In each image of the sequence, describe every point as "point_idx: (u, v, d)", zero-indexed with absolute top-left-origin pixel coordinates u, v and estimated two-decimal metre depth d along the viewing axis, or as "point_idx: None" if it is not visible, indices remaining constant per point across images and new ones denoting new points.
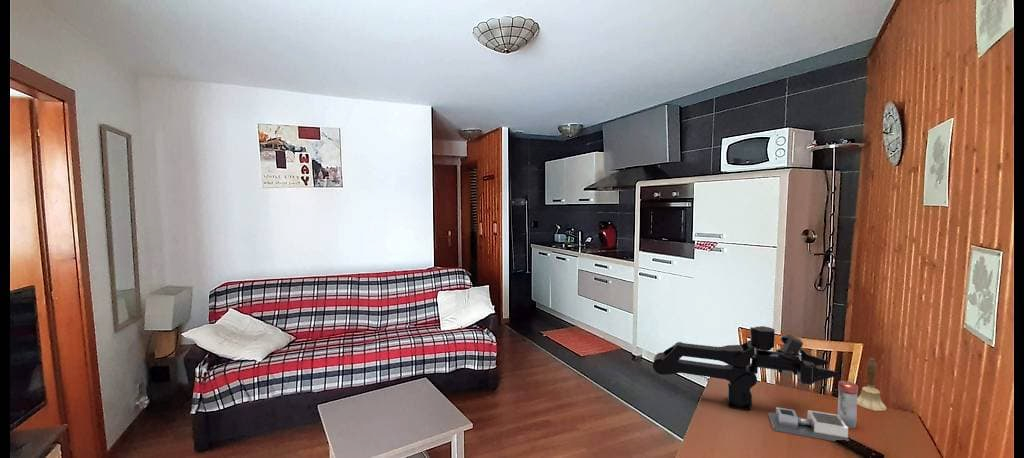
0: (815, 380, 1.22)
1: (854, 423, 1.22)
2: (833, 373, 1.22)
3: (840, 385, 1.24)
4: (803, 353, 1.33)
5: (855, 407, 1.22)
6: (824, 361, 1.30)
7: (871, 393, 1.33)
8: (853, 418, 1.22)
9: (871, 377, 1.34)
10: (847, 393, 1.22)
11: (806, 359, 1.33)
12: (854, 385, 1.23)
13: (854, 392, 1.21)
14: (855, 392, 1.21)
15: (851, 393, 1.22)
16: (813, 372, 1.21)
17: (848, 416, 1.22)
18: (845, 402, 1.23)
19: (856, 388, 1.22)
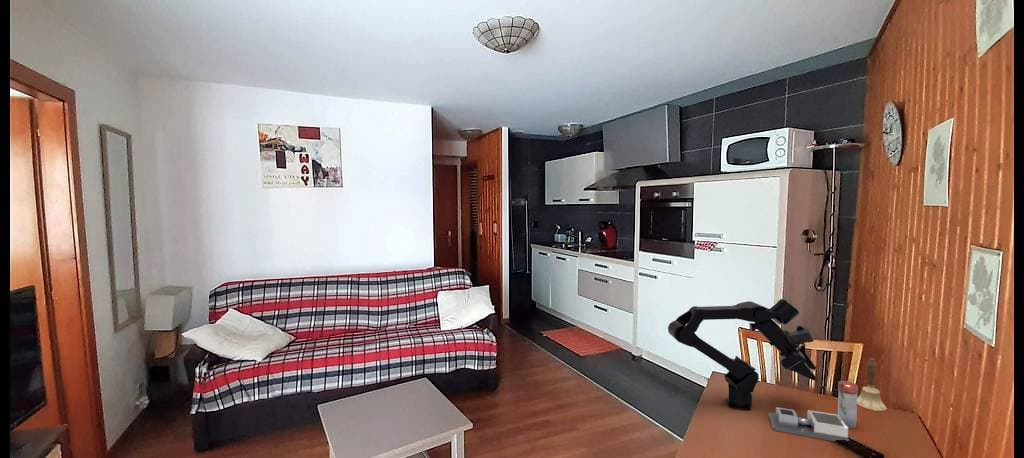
0: (793, 369, 1.26)
1: (854, 423, 1.22)
2: (812, 376, 1.25)
3: (840, 385, 1.24)
4: (802, 349, 1.34)
5: (855, 407, 1.22)
6: (813, 366, 1.32)
7: (871, 393, 1.33)
8: (853, 418, 1.22)
9: (871, 377, 1.34)
10: (847, 393, 1.22)
11: None
12: (854, 385, 1.23)
13: (854, 392, 1.21)
14: (855, 392, 1.21)
15: (851, 393, 1.22)
16: (798, 363, 1.24)
17: (848, 416, 1.22)
18: (845, 402, 1.23)
19: (856, 388, 1.22)
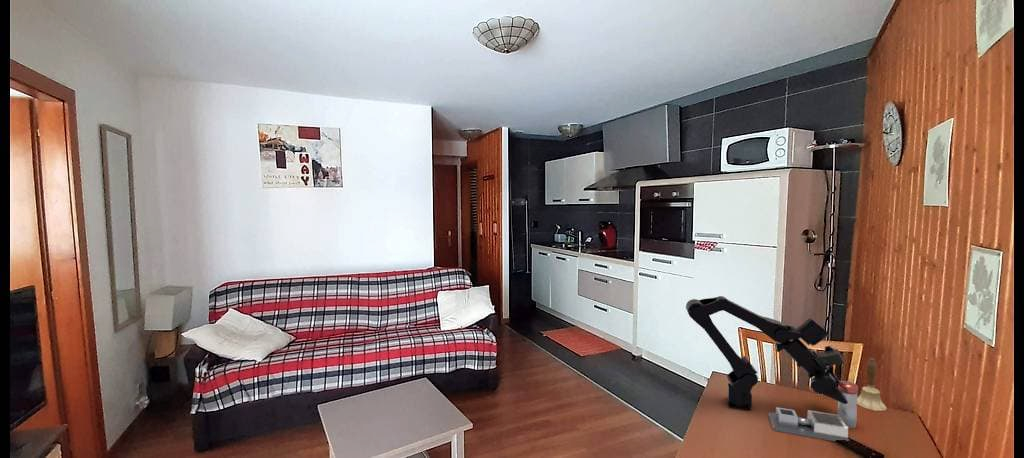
0: (823, 392, 1.22)
1: (854, 423, 1.22)
2: (843, 400, 1.21)
3: (840, 385, 1.24)
4: (831, 370, 1.30)
5: (855, 407, 1.22)
6: None
7: (871, 393, 1.33)
8: (853, 418, 1.22)
9: (871, 377, 1.34)
10: (847, 393, 1.22)
11: None
12: (854, 385, 1.23)
13: (854, 392, 1.21)
14: (855, 392, 1.21)
15: (851, 393, 1.22)
16: (829, 386, 1.20)
17: (848, 416, 1.22)
18: None
19: (856, 388, 1.22)
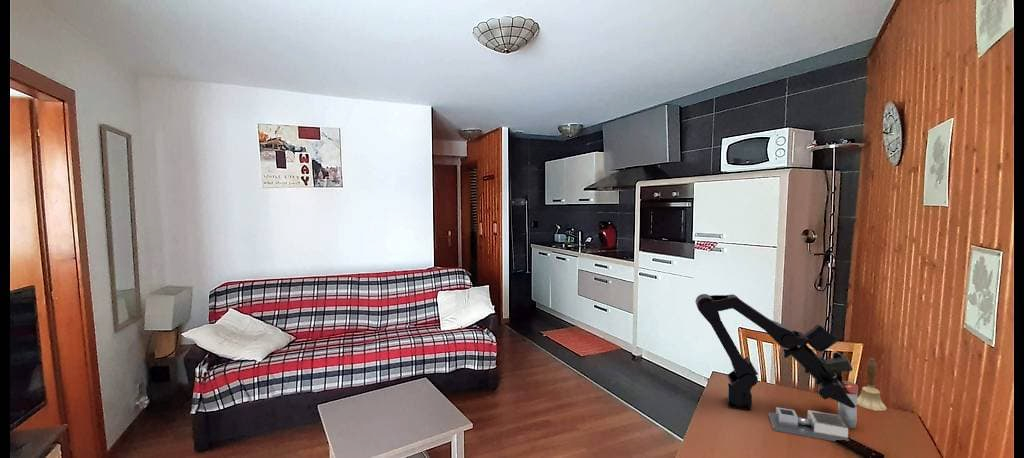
0: (830, 396, 1.23)
1: (854, 423, 1.22)
2: (851, 404, 1.21)
3: None
4: (839, 379, 1.27)
5: (855, 407, 1.22)
6: None
7: (871, 393, 1.33)
8: (853, 418, 1.22)
9: (871, 377, 1.34)
10: (847, 393, 1.22)
11: None
12: (854, 385, 1.23)
13: (854, 392, 1.21)
14: (855, 392, 1.21)
15: (851, 393, 1.22)
16: None
17: (848, 416, 1.22)
18: None
19: (856, 388, 1.22)
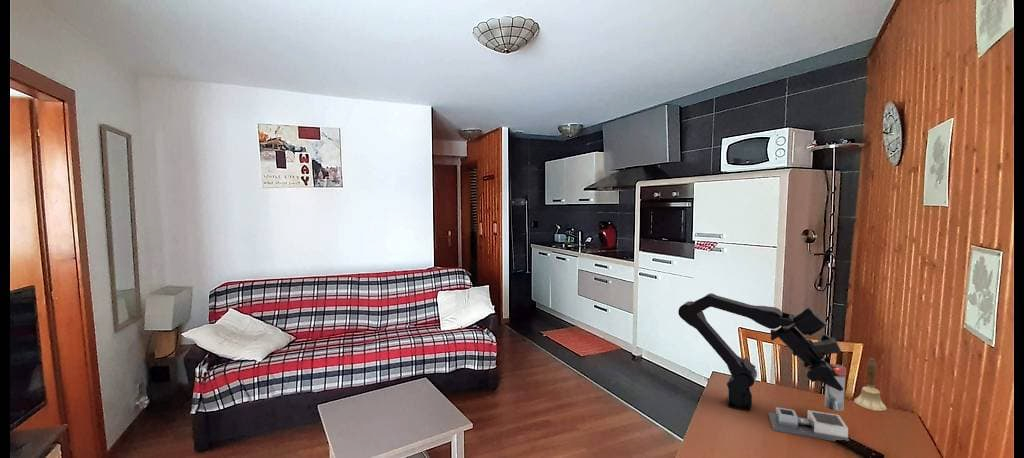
0: (818, 379, 1.20)
1: (841, 406, 1.20)
2: (838, 387, 1.19)
3: None
4: (827, 361, 1.24)
5: (843, 390, 1.19)
6: None
7: (870, 393, 1.33)
8: (840, 401, 1.19)
9: (871, 377, 1.34)
10: (835, 375, 1.19)
11: None
12: (842, 367, 1.20)
13: (842, 374, 1.19)
14: (843, 374, 1.19)
15: (839, 375, 1.19)
16: None
17: (835, 399, 1.20)
18: None
19: (844, 370, 1.19)
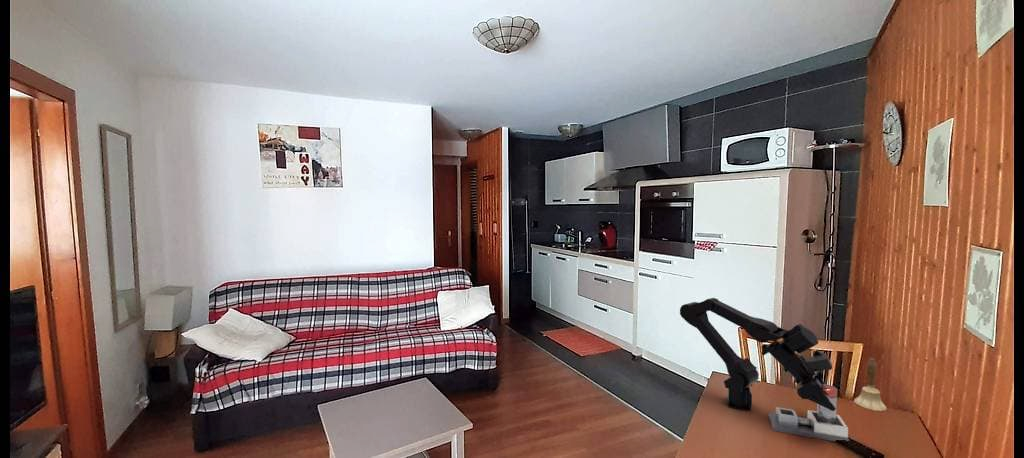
0: (809, 398, 1.17)
1: None
2: (830, 407, 1.15)
3: None
4: (819, 376, 1.24)
5: (834, 411, 1.17)
6: None
7: (871, 393, 1.33)
8: (832, 423, 1.18)
9: (871, 377, 1.34)
10: None
11: None
12: (833, 388, 1.18)
13: (833, 396, 1.17)
14: (834, 396, 1.17)
15: (830, 397, 1.17)
16: (816, 392, 1.15)
17: (827, 420, 1.18)
18: None
19: (835, 392, 1.17)
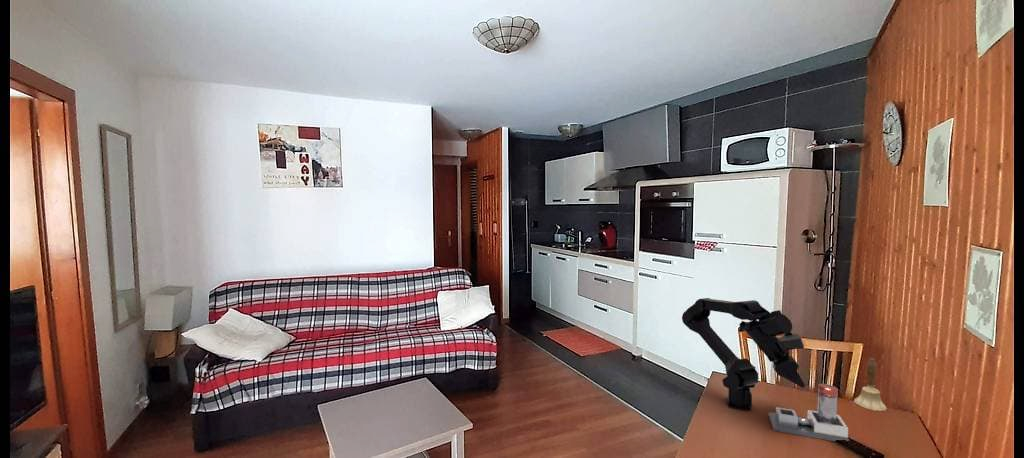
0: (784, 376, 1.21)
1: None
2: (801, 384, 1.21)
3: (819, 388, 1.19)
4: (786, 354, 1.31)
5: (835, 411, 1.18)
6: None
7: (870, 393, 1.33)
8: (832, 423, 1.18)
9: (871, 377, 1.34)
10: (826, 396, 1.18)
11: None
12: (834, 388, 1.18)
13: (834, 395, 1.17)
14: (835, 395, 1.17)
15: (830, 396, 1.17)
16: (792, 370, 1.19)
17: (827, 420, 1.18)
18: (824, 405, 1.18)
19: (836, 391, 1.17)
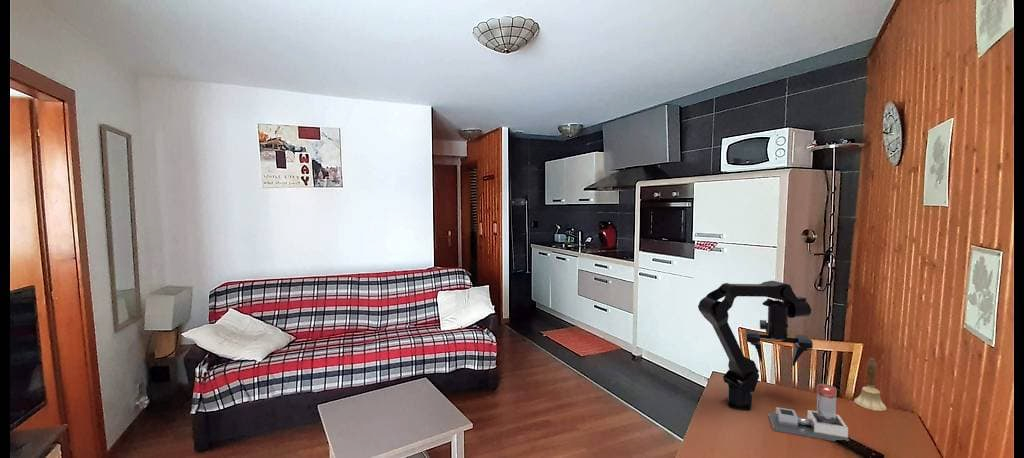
0: None
1: None
2: None
3: (818, 388, 1.19)
4: None
5: (834, 411, 1.18)
6: None
7: (871, 393, 1.33)
8: (832, 422, 1.18)
9: (871, 377, 1.34)
10: (825, 396, 1.18)
11: None
12: (832, 388, 1.18)
13: (832, 395, 1.17)
14: (833, 395, 1.17)
15: (829, 396, 1.17)
16: None
17: (826, 420, 1.18)
18: (823, 405, 1.18)
19: (834, 391, 1.17)
